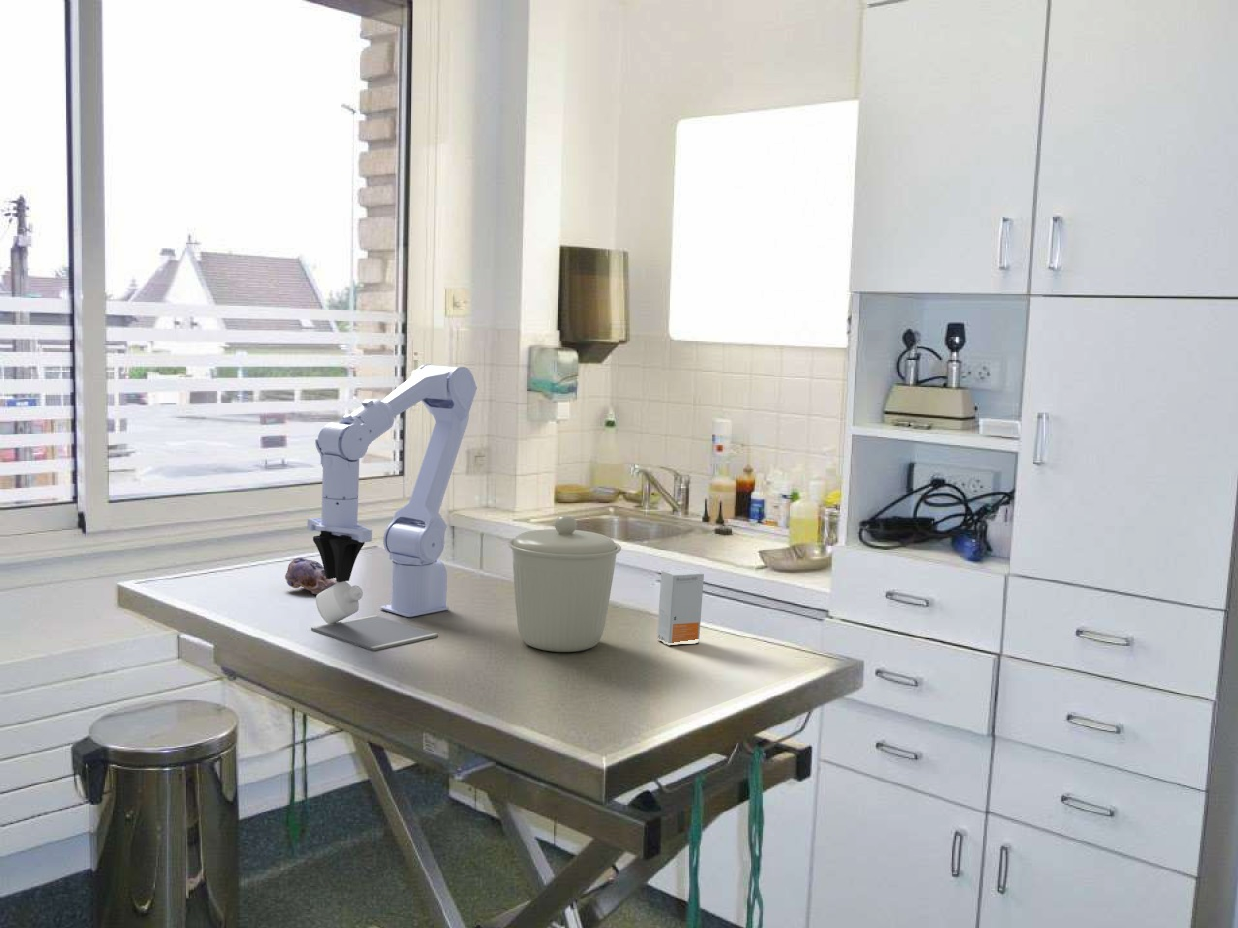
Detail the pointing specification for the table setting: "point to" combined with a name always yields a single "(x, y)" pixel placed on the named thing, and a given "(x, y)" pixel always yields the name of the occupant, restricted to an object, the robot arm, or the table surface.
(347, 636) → the mat
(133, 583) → the table surface
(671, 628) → the skincare box
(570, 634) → the canister
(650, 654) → the table surface
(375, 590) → the table surface
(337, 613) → the eye dropper bottle
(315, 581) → the skull
